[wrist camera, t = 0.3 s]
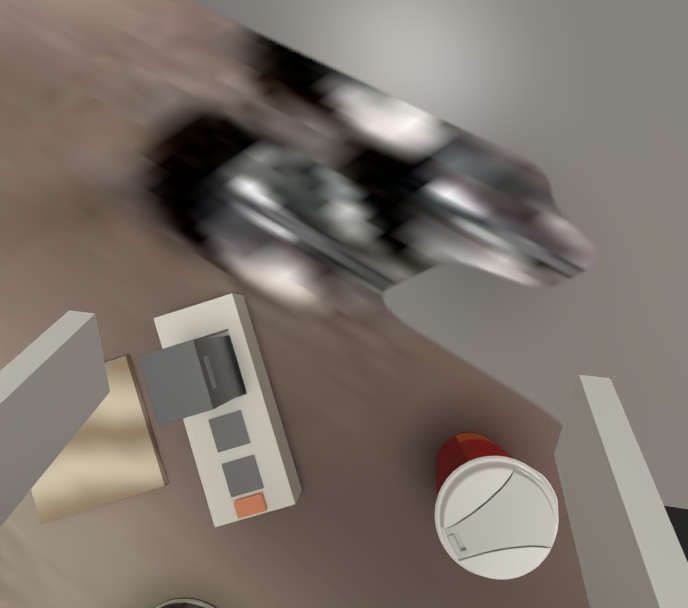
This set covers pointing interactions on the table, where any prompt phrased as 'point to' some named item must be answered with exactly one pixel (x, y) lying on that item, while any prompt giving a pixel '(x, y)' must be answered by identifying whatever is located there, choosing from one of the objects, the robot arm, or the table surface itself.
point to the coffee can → (184, 604)
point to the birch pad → (104, 453)
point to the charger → (192, 377)
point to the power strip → (236, 420)
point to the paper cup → (492, 509)
